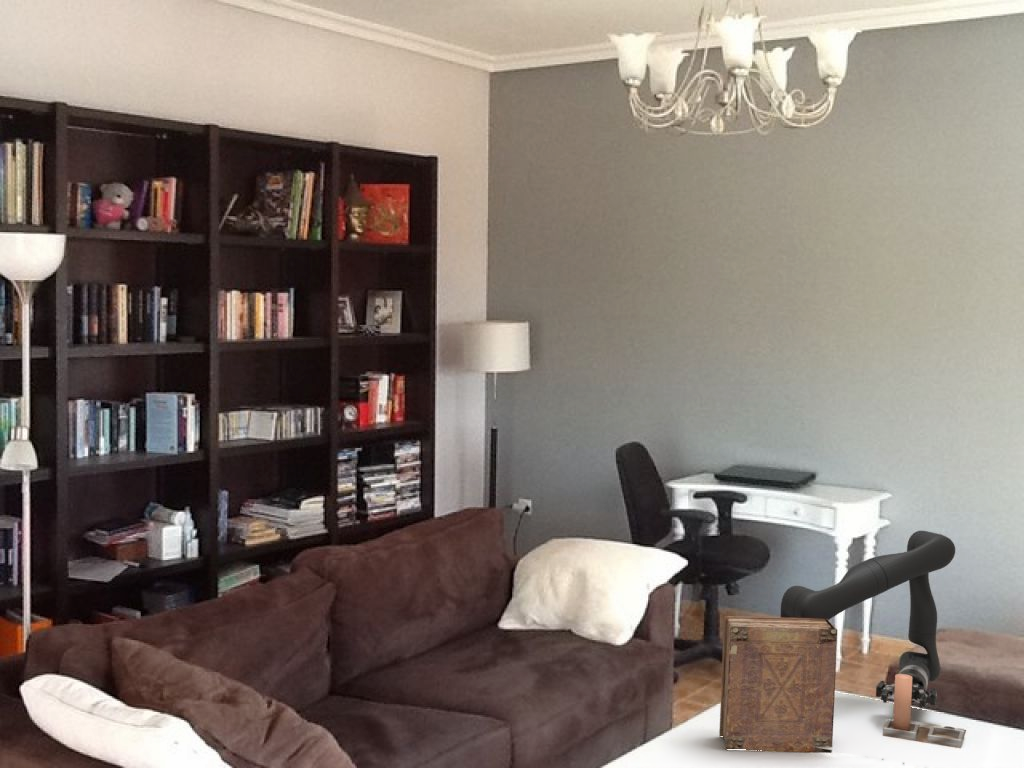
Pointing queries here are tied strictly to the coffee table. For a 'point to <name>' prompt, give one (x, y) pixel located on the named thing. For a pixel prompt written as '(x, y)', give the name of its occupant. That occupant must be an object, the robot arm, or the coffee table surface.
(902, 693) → the terracotta pin
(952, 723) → the coffee table surface
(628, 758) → the coffee table surface
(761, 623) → the book
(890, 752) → the coffee table surface
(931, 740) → the walnut socket board
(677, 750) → the coffee table surface
